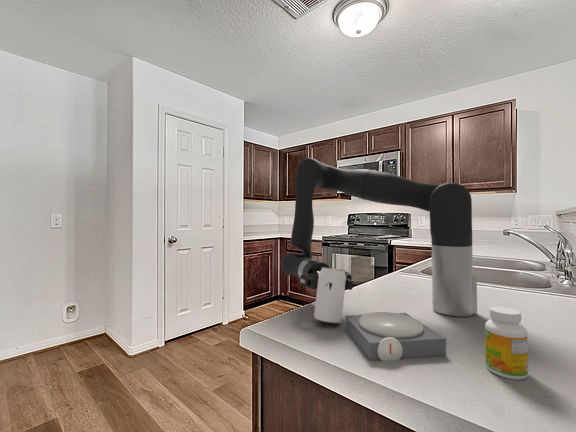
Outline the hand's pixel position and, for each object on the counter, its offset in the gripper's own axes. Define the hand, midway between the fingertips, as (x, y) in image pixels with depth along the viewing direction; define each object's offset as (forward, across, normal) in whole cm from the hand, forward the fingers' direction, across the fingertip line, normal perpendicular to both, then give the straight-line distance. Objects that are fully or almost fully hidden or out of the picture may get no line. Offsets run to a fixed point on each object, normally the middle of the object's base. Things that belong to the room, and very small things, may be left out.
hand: (341, 286), depth 66 cm
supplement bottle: (+25, +16, +10) cm, 31 cm away
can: (-2, -3, +8) cm, 9 cm away
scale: (+10, +5, +9) cm, 15 cm away
